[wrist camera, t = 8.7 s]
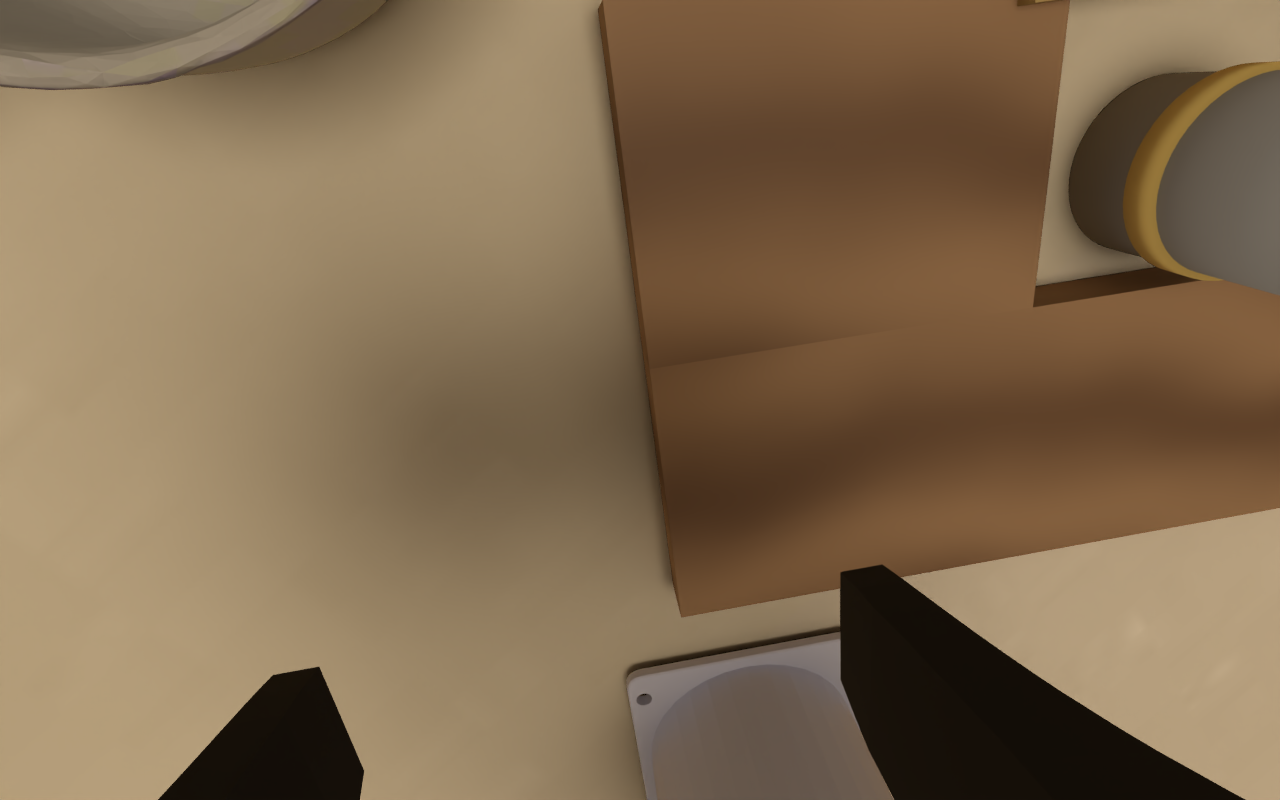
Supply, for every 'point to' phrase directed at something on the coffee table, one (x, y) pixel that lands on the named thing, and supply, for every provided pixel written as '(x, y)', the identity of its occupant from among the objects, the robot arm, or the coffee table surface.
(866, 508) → the shelf board
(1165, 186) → the gold-banded grey cylinder
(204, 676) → the coffee table surface
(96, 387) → the coffee table surface
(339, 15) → the teacup
